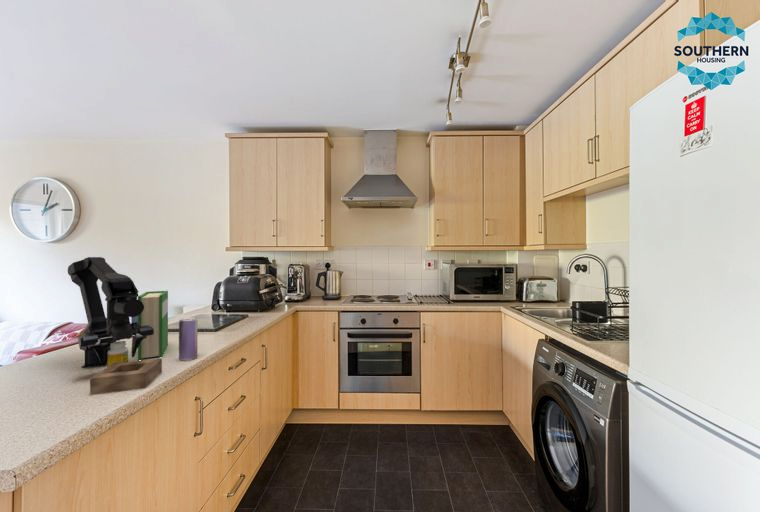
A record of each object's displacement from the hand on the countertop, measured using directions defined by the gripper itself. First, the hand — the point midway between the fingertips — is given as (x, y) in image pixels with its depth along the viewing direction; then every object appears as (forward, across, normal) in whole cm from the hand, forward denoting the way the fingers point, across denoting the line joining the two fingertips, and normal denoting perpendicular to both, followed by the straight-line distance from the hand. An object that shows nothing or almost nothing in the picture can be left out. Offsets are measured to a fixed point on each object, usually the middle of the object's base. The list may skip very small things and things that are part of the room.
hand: (118, 360), depth 102 cm
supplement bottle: (+4, 0, 0) cm, 4 cm away
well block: (+4, 0, -15) cm, 15 cm away
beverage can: (+4, +20, -4) cm, 21 cm away
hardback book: (+4, +14, +14) cm, 20 cm away
